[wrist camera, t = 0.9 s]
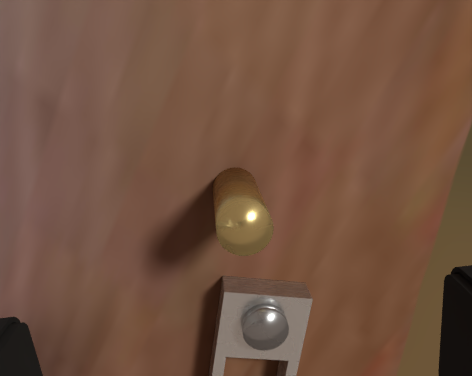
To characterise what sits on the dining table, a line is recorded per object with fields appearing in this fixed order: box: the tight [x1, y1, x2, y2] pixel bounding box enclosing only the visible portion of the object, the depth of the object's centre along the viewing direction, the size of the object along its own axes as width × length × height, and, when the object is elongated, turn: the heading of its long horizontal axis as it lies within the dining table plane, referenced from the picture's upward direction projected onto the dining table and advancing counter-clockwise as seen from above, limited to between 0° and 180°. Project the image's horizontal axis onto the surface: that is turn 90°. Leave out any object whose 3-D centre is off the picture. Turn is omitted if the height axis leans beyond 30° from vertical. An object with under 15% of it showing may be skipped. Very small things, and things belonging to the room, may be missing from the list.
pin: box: [213, 168, 273, 256], centre depth 29 cm, size 3×3×8 cm
